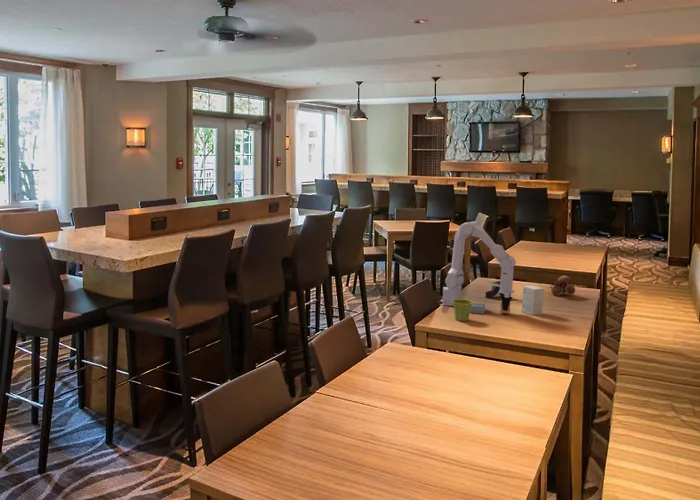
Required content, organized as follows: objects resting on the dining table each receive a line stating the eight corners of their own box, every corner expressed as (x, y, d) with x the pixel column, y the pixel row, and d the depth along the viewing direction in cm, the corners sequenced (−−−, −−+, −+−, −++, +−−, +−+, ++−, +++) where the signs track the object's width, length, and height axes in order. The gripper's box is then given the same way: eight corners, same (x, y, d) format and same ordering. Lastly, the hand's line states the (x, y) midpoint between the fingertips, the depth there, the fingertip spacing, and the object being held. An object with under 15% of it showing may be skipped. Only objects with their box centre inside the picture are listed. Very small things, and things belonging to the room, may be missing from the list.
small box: (542, 314, 300) (544, 288, 298) (532, 315, 297) (534, 289, 295) (530, 310, 307) (532, 285, 305) (520, 311, 304) (522, 285, 302)
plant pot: (459, 323, 280) (460, 304, 279) (447, 318, 288) (448, 300, 287) (475, 321, 284) (477, 302, 283) (463, 316, 293) (464, 298, 291)
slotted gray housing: (467, 312, 300) (468, 305, 299) (467, 309, 305) (467, 303, 304) (484, 313, 299) (484, 306, 298) (484, 311, 303) (484, 304, 303)
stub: (500, 312, 297) (500, 302, 296) (499, 310, 302) (500, 300, 301) (509, 313, 296) (510, 303, 296) (508, 310, 301) (509, 300, 301)
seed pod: (543, 285, 337) (571, 279, 332) (543, 273, 352) (570, 267, 346) (549, 306, 340) (577, 300, 335) (549, 294, 355) (576, 288, 349)
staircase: (484, 298, 333) (486, 276, 331) (496, 295, 339) (497, 274, 337) (498, 301, 326) (500, 279, 324) (509, 299, 333) (511, 276, 331)
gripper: (516, 285, 289) (514, 313, 291) (513, 279, 303) (511, 305, 305) (501, 284, 290) (499, 312, 293) (499, 278, 305) (497, 304, 307)
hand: (504, 308), depth 299 cm, fingers closed on stub, 5 cm apart
